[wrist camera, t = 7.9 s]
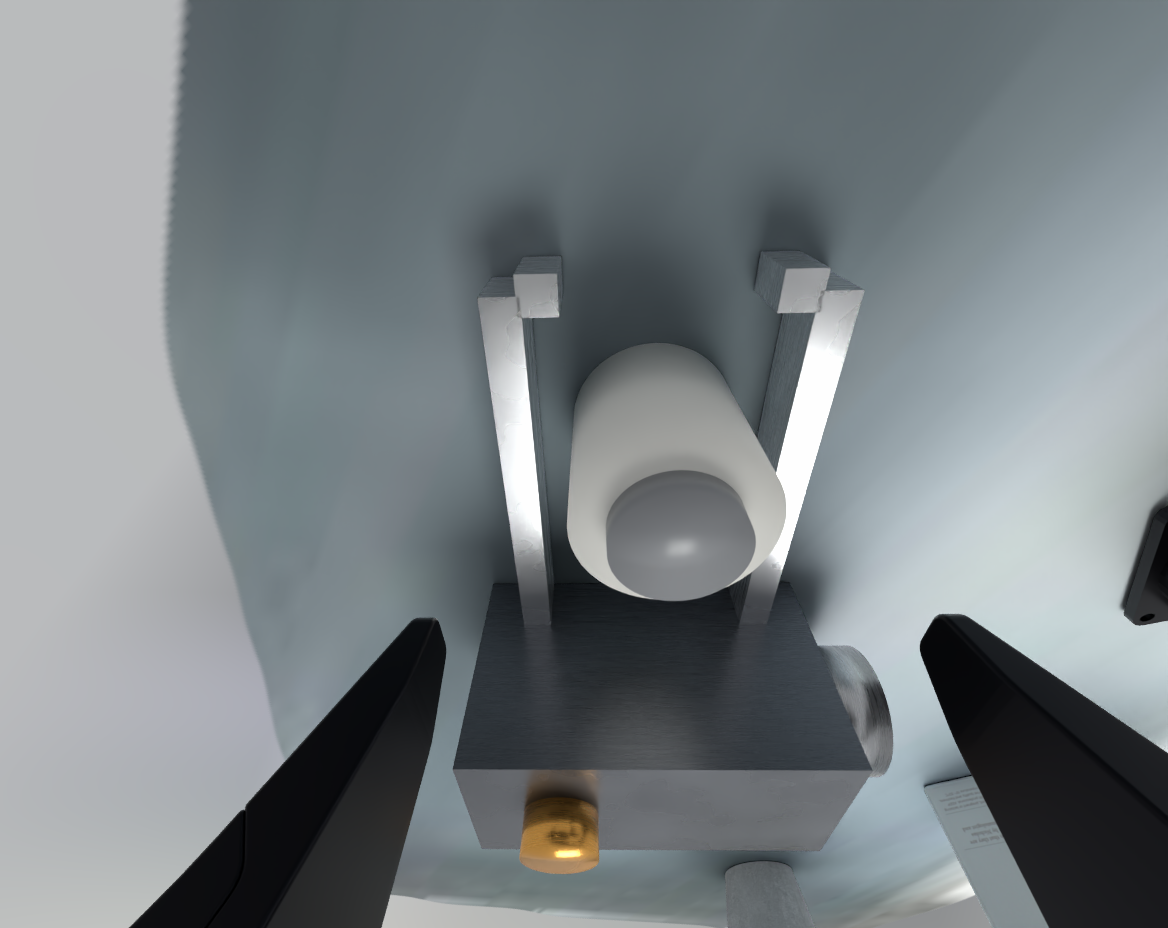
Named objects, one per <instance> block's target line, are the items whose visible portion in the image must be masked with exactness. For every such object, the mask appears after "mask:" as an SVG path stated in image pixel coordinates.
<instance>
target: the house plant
mask: <svg viewBox="0 0 1168 928" xmlns="http://www.w3.org/2000/svg"><path fill="white" fill-rule="evenodd" d="M725 885H726V903H727V921H728V928H816V927H815V925H814V922H813V920H812V917H811V915H810V912H809V910H808V908H807V905H806V903H805V900H804V898H803V895H802V893H801V890H800V888H799V885H798V883H797V881H796V878H795V876H794V873H793V871H792V868H790V867H789V866H788V865H786V864H783V863H779V862H771V861H756V862H748V863H743V864H739V865H736V866H733V867H732V868H730V869H728V870H727V871H726V873H725Z"/></svg>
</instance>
